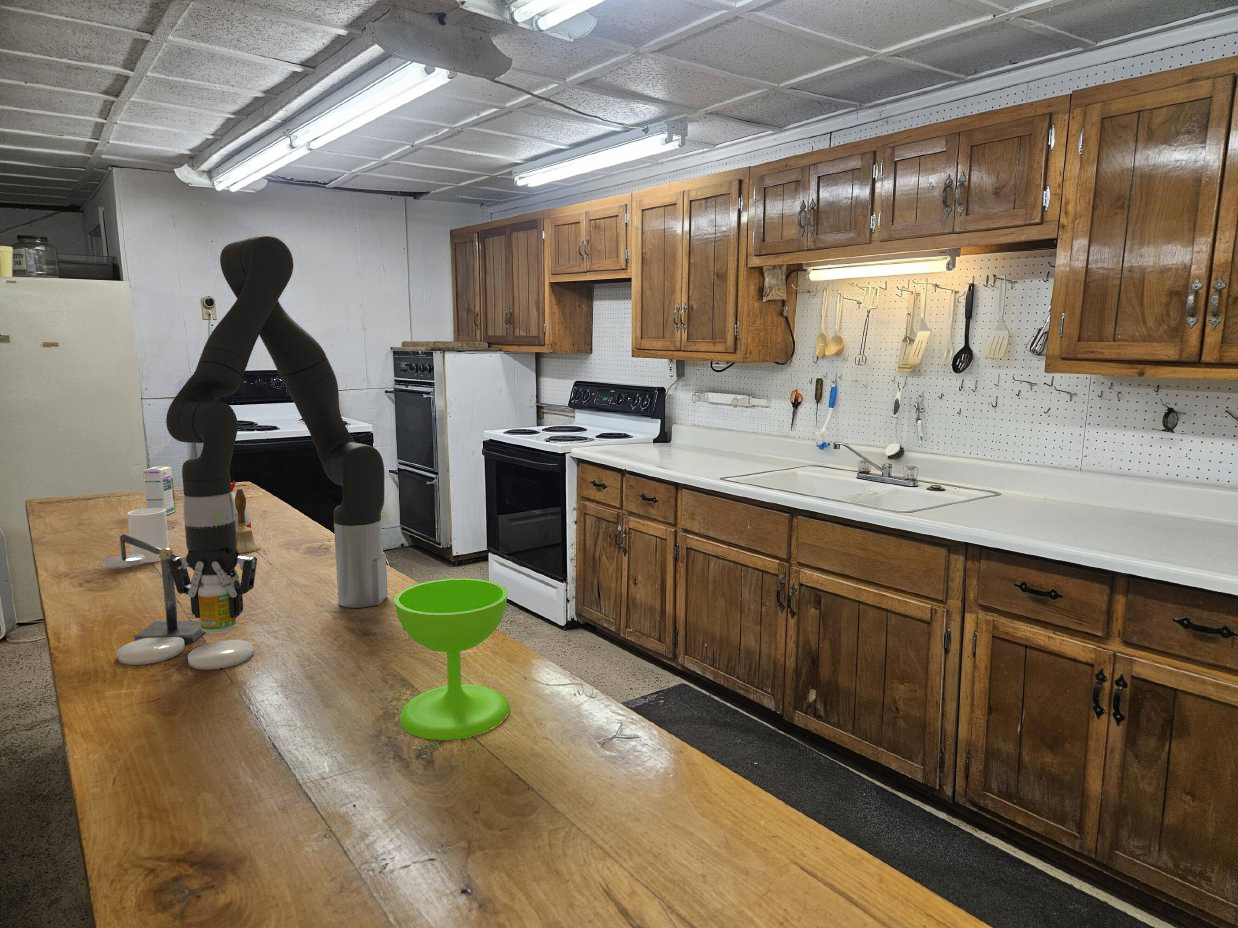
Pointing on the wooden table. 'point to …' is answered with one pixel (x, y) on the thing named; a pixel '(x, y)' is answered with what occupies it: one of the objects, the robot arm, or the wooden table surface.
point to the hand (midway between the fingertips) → (217, 616)
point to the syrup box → (159, 488)
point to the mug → (148, 530)
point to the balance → (172, 627)
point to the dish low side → (220, 654)
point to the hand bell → (243, 527)
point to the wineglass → (452, 654)
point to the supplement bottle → (214, 605)
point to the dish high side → (150, 650)
